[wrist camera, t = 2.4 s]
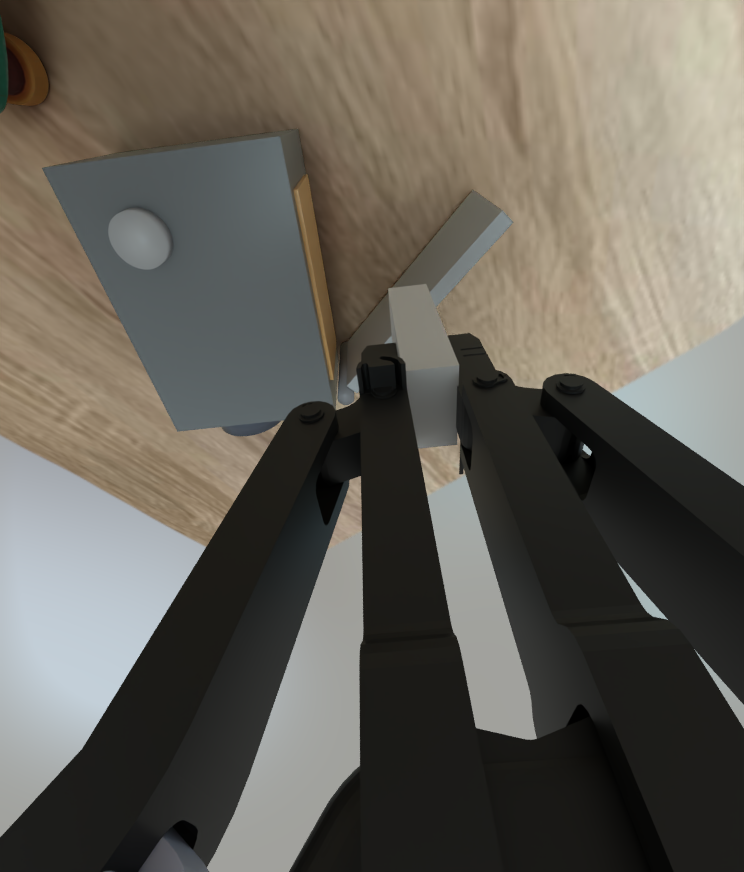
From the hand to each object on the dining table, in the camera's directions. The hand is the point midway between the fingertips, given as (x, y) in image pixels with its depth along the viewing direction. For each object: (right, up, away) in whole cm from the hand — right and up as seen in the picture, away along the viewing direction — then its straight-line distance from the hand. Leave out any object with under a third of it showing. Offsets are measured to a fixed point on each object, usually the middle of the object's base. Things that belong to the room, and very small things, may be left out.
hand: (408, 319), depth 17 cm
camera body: (-10, +6, +10) cm, 15 cm away
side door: (+1, +5, +11) cm, 12 cm away
